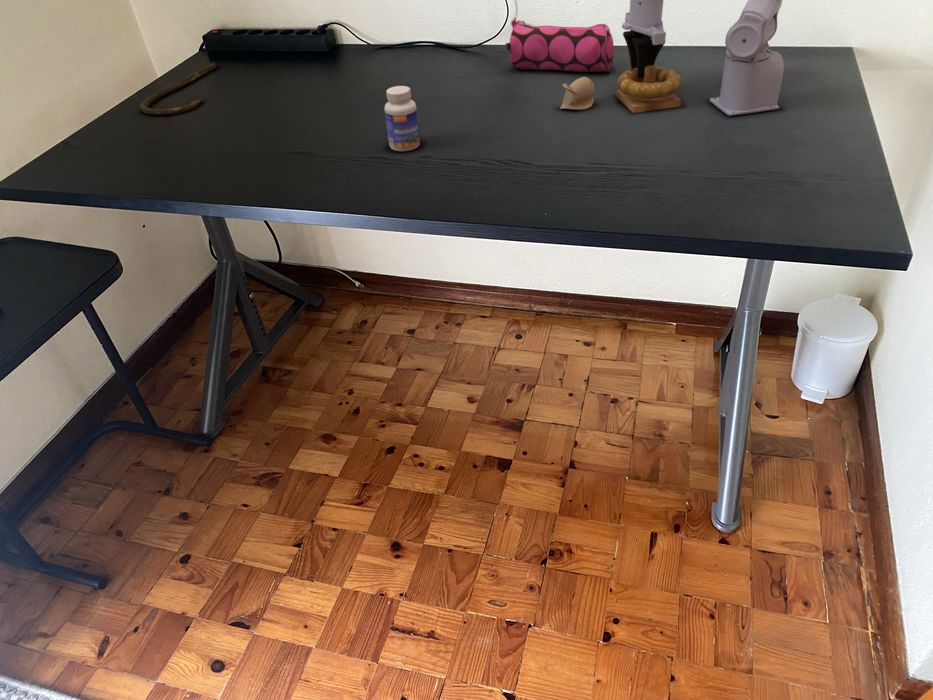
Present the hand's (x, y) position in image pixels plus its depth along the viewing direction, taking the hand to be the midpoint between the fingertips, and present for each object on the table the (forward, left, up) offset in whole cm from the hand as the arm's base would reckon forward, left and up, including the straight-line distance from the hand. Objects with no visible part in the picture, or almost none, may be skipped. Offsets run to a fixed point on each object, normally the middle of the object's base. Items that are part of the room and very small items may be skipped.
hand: (640, 74), depth 136 cm
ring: (0, +4, 0) cm, 4 cm away
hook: (+87, -36, -4) cm, 94 cm away
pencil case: (+10, -19, -4) cm, 22 cm away
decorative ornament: (+13, +2, -4) cm, 14 cm away
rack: (0, +4, -4) cm, 6 cm away
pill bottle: (+46, +9, -4) cm, 47 cm away
